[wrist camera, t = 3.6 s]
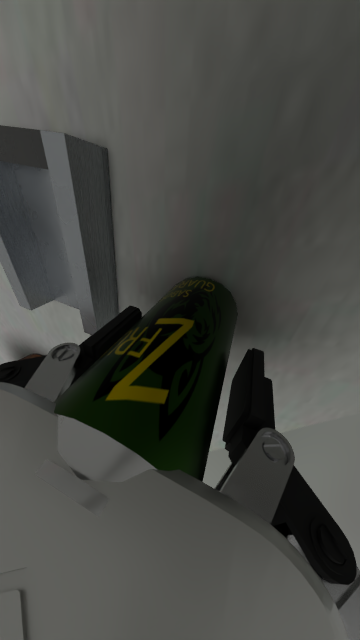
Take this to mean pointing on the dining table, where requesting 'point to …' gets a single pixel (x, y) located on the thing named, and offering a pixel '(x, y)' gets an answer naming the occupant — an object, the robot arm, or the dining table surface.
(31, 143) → the grey tray
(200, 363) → the beer can
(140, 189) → the dining table surface
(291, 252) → the dining table surface
